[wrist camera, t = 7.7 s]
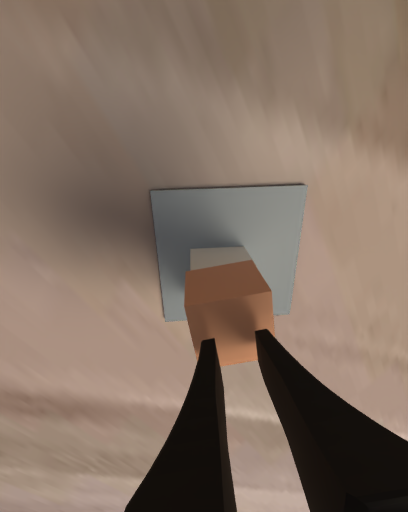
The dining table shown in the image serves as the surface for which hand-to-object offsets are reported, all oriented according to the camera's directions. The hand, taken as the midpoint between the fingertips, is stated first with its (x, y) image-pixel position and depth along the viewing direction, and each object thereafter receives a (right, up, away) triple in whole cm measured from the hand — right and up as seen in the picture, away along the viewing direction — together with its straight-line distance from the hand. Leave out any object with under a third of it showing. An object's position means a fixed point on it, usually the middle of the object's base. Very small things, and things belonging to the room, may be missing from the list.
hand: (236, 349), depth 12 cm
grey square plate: (0, +5, +8) cm, 9 cm away
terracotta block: (0, +2, +4) cm, 5 cm away
